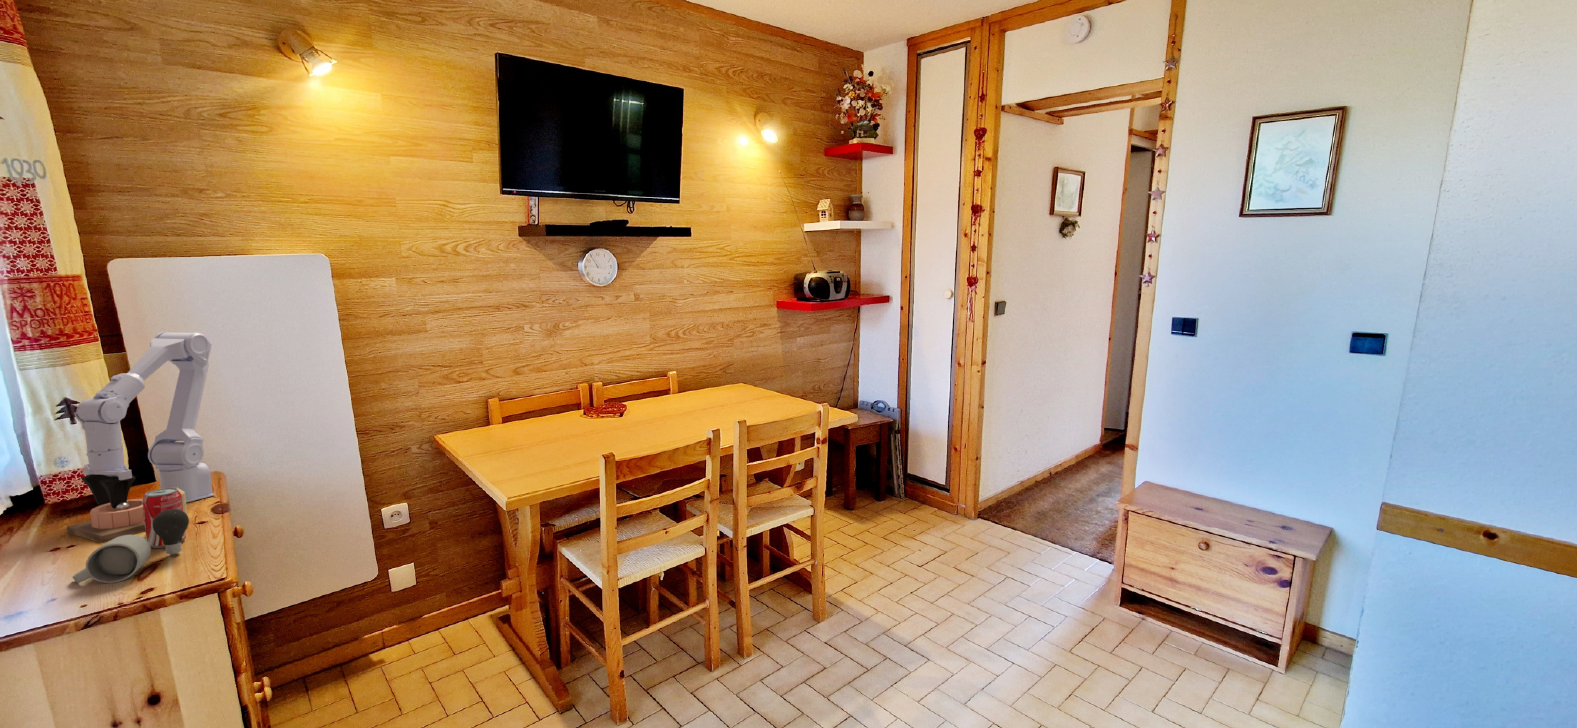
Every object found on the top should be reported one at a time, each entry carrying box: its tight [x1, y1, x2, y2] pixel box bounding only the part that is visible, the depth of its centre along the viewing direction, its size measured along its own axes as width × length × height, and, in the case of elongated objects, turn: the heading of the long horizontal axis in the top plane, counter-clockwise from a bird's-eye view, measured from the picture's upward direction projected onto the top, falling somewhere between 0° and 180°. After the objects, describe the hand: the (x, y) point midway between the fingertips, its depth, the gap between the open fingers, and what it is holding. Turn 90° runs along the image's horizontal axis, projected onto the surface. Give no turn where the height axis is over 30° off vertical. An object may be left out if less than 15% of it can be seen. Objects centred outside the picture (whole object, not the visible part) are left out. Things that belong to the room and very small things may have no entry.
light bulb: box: [152, 509, 190, 557], centre depth 139 cm, size 6×6×10 cm
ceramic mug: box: [72, 534, 152, 584], centre depth 129 cm, size 11×8×8 cm
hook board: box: [66, 520, 146, 543], centre depth 154 cm, size 14×14×2 cm
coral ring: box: [89, 498, 144, 529], centre depth 153 cm, size 10×10×4 cm
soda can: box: [142, 488, 187, 549], centre depth 144 cm, size 6×6×12 cm
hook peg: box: [116, 502, 130, 528], centre depth 153 cm, size 2×8×6 cm, turn 70°
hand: (111, 505), depth 155 cm, fingers open, 5 cm apart
